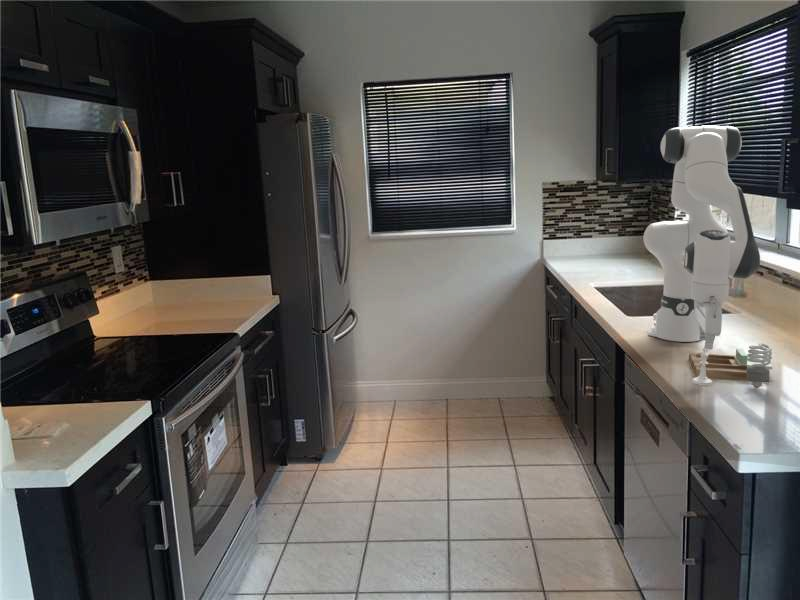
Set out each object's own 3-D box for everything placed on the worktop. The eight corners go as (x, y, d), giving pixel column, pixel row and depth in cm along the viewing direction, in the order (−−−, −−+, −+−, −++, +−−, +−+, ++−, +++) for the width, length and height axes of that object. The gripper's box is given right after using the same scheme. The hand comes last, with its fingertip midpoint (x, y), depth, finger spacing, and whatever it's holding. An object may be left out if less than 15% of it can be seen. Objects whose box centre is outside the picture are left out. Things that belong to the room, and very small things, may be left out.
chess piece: (706, 379, 183) (709, 344, 181) (715, 385, 178) (718, 349, 176) (688, 380, 182) (691, 344, 180) (697, 386, 178) (700, 349, 176)
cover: (734, 359, 192) (735, 347, 191) (765, 360, 190) (766, 349, 189) (739, 367, 184) (740, 355, 184) (772, 369, 182) (773, 357, 181)
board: (688, 360, 199) (689, 350, 198) (755, 365, 194) (756, 354, 194) (696, 377, 184) (697, 366, 183) (768, 382, 179) (769, 371, 179)
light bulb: (758, 392, 172) (762, 347, 169) (739, 386, 177) (743, 342, 175) (773, 389, 174) (778, 344, 172) (754, 383, 179) (758, 339, 177)
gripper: (730, 301, 164) (725, 355, 167) (716, 287, 183) (712, 335, 186) (702, 300, 166) (698, 353, 169) (691, 286, 185) (687, 334, 188)
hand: (705, 344), depth 178 cm, fingers open, 8 cm apart
